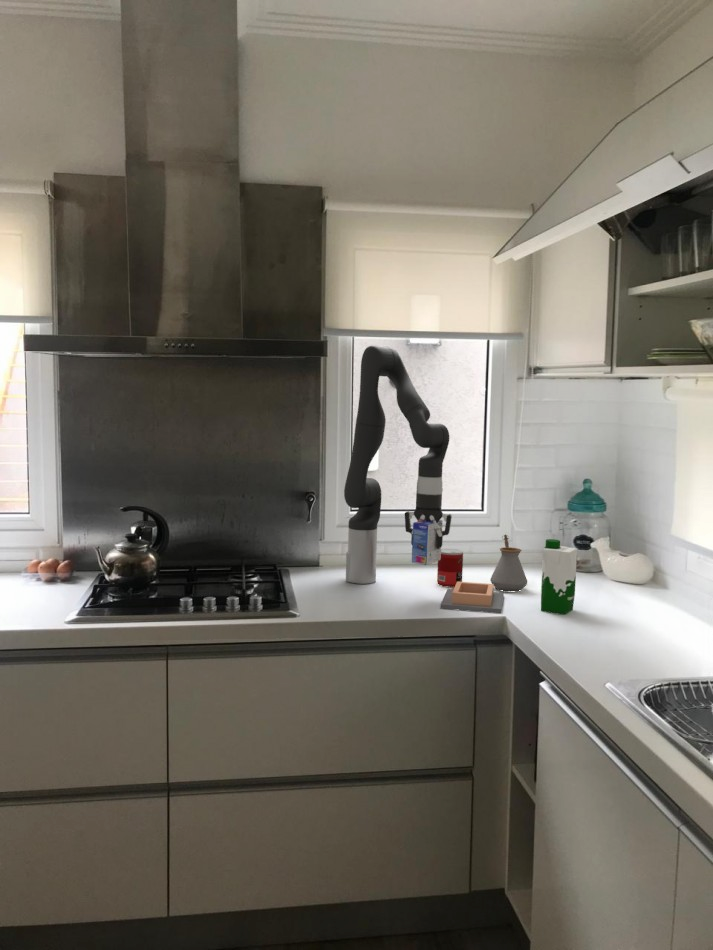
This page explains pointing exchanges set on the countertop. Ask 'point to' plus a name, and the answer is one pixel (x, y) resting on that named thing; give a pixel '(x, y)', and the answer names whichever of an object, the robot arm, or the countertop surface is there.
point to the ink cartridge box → (425, 543)
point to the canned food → (450, 567)
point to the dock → (473, 597)
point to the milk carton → (558, 577)
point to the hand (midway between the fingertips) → (426, 547)
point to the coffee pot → (509, 570)
